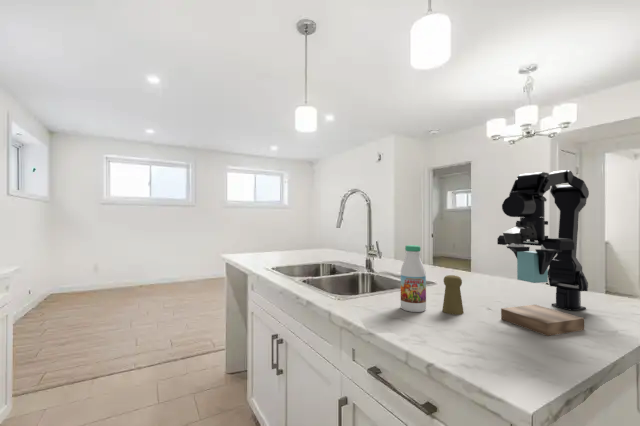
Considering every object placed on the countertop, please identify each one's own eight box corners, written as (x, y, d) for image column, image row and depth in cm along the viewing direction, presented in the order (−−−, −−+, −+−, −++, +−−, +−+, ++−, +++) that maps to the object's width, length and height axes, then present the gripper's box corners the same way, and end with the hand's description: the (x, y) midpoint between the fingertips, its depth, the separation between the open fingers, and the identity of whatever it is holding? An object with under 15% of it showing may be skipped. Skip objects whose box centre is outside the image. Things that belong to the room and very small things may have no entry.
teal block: (530, 278, 89) (530, 251, 90) (547, 282, 85) (547, 253, 85) (517, 279, 88) (517, 251, 88) (533, 283, 83) (533, 253, 83)
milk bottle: (397, 305, 100) (396, 244, 100) (420, 305, 101) (419, 244, 101) (405, 313, 92) (405, 246, 93) (430, 312, 93) (430, 246, 93)
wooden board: (535, 314, 91) (535, 304, 91) (584, 330, 78) (584, 318, 78) (501, 319, 87) (501, 308, 87) (547, 336, 74) (547, 323, 75)
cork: (466, 315, 90) (465, 277, 91) (444, 314, 92) (444, 277, 92) (460, 309, 96) (460, 274, 96) (440, 308, 98) (440, 273, 98)
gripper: (482, 217, 93) (483, 268, 93) (542, 217, 75) (543, 280, 75) (511, 217, 96) (511, 267, 96) (575, 217, 79) (576, 278, 78)
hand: (532, 272), depth 86 cm, fingers closed on teal block, 5 cm apart
